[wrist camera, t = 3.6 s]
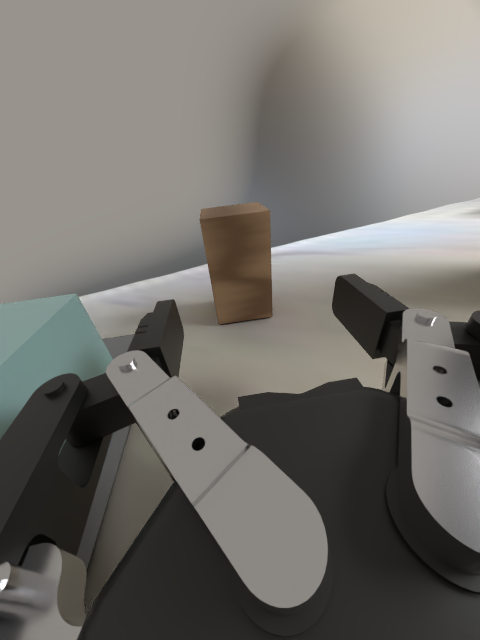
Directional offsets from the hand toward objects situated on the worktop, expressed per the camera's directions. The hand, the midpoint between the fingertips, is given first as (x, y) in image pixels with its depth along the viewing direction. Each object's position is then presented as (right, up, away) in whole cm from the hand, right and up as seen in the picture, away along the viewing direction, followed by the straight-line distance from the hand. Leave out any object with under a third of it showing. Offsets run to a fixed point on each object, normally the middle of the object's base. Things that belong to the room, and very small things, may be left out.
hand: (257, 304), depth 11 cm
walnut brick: (-1, +1, +12) cm, 12 cm away
